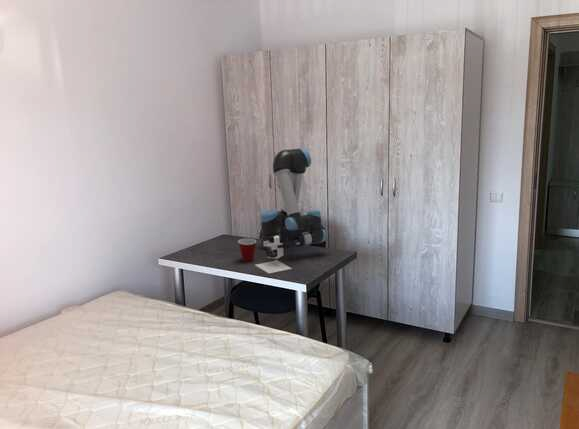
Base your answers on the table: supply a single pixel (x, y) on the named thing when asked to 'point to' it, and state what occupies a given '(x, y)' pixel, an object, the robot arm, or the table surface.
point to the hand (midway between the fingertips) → (267, 245)
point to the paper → (273, 266)
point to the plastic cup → (247, 249)
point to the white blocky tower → (274, 253)
